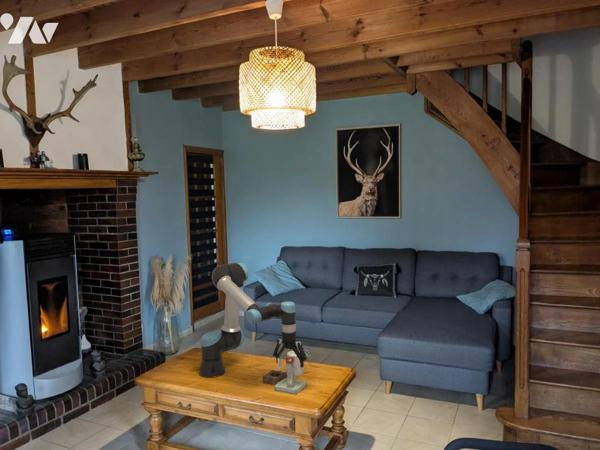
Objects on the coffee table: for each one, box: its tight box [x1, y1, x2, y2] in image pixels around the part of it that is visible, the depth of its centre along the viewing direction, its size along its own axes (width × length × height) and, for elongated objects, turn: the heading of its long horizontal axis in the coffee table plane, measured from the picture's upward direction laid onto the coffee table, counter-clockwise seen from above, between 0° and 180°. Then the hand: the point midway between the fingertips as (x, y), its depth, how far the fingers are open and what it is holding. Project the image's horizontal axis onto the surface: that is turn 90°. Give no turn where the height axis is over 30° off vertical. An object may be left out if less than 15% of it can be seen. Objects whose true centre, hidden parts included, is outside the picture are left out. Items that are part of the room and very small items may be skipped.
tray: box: [273, 378, 307, 396], centre depth 246 cm, size 13×12×3 cm
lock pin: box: [284, 357, 295, 388], centre depth 245 cm, size 5×5×16 cm
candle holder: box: [286, 350, 305, 377], centre depth 266 cm, size 10×10×12 cm
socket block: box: [262, 369, 287, 386], centre depth 256 cm, size 10×10×4 cm
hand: (290, 371), depth 245 cm, fingers open, 12 cm apart
